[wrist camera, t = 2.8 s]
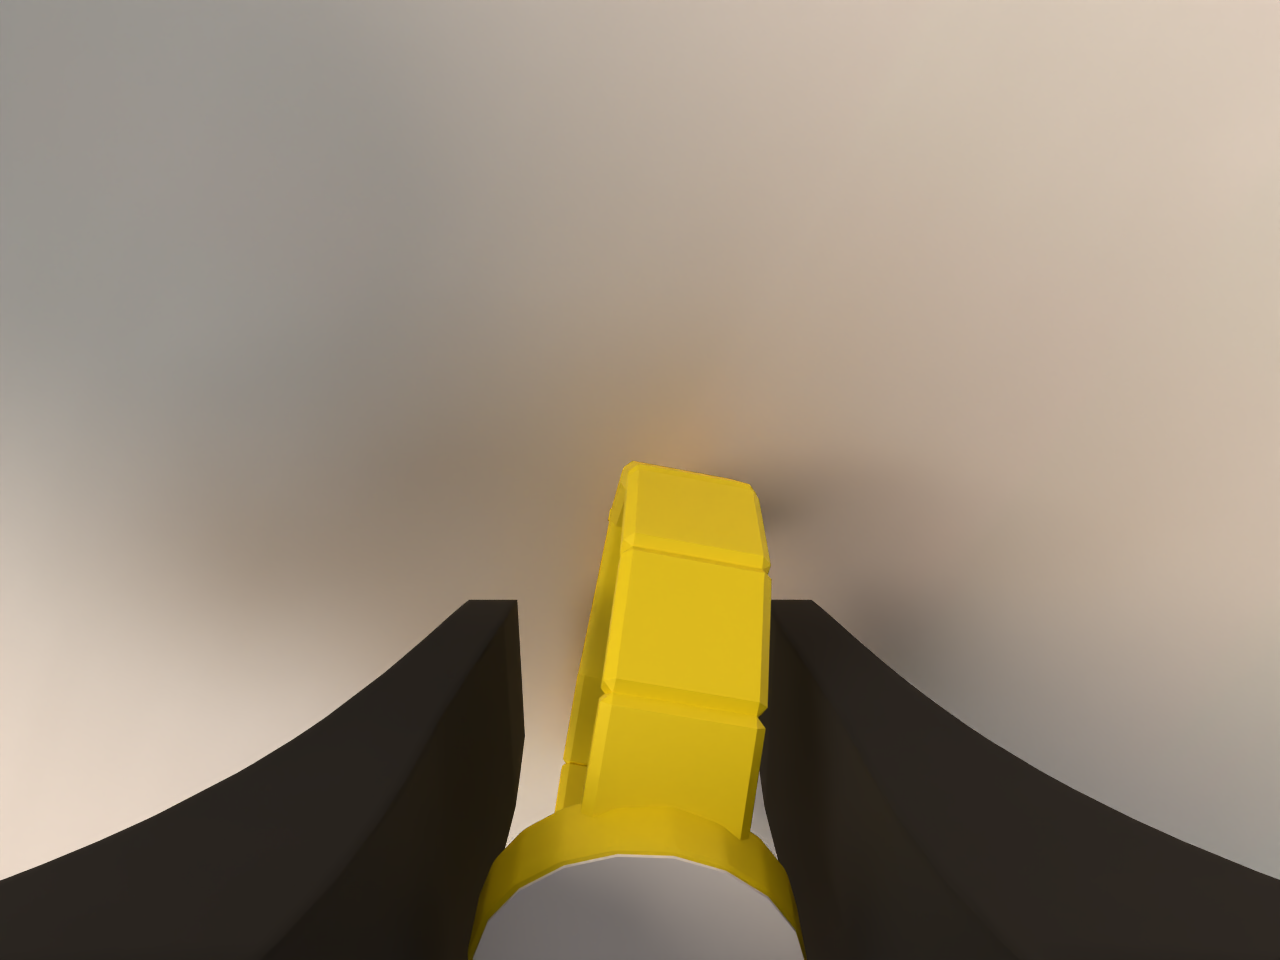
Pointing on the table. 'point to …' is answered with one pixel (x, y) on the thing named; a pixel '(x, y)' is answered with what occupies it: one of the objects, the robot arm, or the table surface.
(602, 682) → the watch
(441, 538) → the table surface
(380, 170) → the table surface
